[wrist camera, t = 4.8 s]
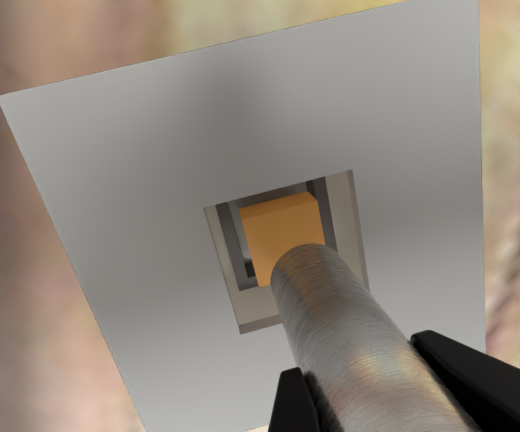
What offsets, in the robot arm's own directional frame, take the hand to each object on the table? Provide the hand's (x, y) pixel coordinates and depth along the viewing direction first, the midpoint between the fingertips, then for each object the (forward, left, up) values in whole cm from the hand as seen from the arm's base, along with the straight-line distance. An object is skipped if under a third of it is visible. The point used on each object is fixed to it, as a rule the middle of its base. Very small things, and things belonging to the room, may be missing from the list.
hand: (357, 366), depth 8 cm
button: (0, 0, -8) cm, 8 cm away
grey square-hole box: (0, 0, -11) cm, 11 cm away
